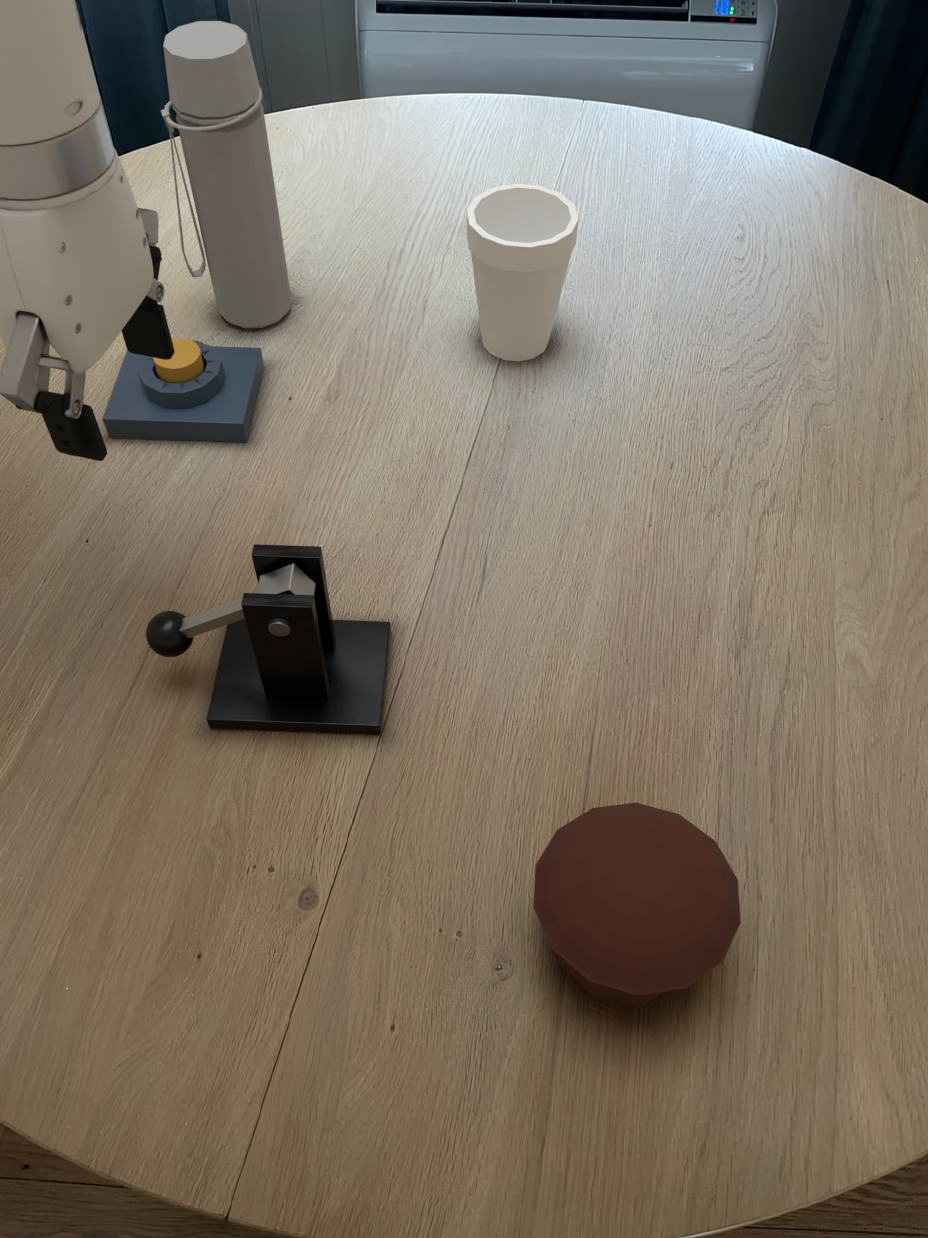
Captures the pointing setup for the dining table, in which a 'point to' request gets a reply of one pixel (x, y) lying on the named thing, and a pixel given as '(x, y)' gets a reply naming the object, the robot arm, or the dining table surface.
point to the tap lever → (219, 613)
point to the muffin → (635, 902)
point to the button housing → (187, 398)
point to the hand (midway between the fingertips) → (118, 401)
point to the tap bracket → (299, 659)
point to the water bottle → (227, 170)
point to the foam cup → (519, 265)
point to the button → (181, 363)
